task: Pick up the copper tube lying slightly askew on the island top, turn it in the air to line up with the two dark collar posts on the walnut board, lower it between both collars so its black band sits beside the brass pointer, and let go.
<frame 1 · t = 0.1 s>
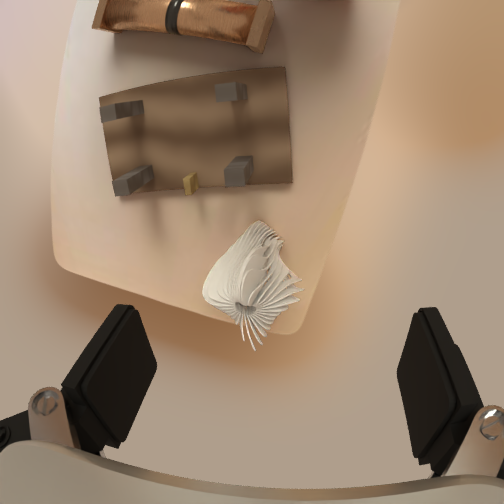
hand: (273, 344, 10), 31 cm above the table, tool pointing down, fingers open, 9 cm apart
collar board: (191, 132, 37), on the table
copper tube: (188, 19, 31), on the table
shell sculpture: (264, 238, 43), on the table
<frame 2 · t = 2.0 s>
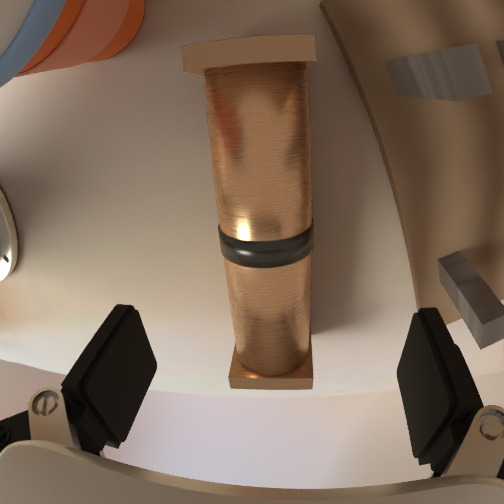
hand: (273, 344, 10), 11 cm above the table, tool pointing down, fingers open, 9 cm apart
collar board: (479, 157, 17), on the table
copper tube: (268, 215, 20), on the table
cup with straw: (105, 19, 15), on the table
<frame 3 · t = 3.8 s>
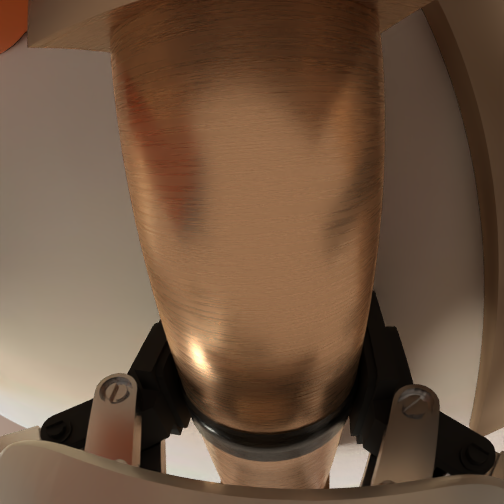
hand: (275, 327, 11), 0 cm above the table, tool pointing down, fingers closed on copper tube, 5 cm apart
copper tube: (276, 318, 11), on the table, touching gripper
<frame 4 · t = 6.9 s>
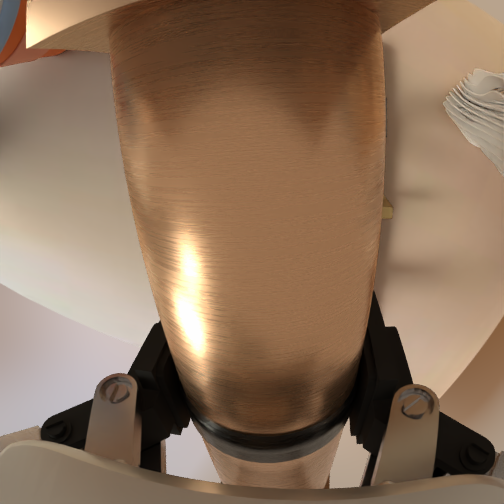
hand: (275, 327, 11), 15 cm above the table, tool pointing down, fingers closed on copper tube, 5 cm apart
copper tube: (276, 319, 11), point 15 cm above the table, touching gripper
shell sculpture: (469, 102, 19), on the table
cup with straw: (60, 25, 19), on the table
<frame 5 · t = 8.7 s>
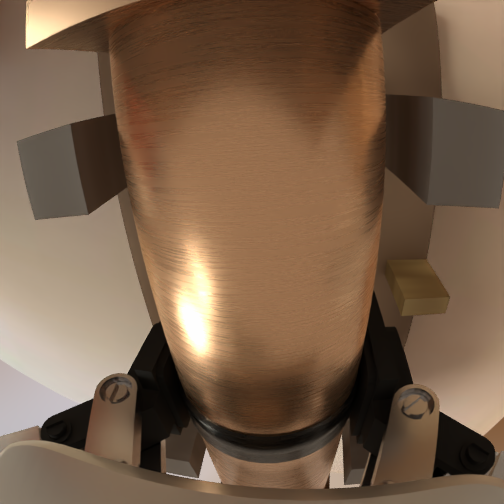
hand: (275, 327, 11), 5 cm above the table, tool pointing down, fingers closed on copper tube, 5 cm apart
collar board: (278, 256, 15), on the table
copper tube: (276, 319, 11), point 5 cm above the table, touching gripper
when the fingers open (2 cm above the table, at t = 10.1 s): copper tube stays where it is, resting on collar board.
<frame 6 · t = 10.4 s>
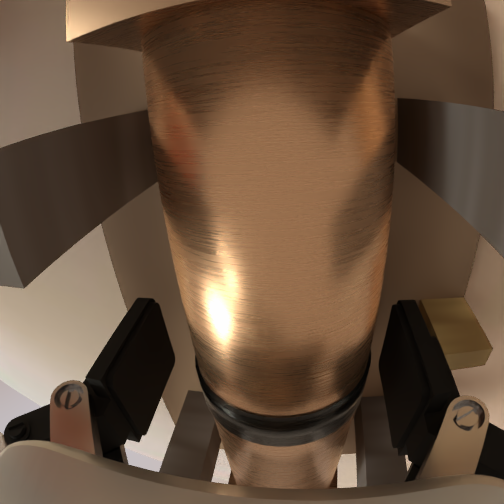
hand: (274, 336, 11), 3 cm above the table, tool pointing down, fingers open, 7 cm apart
collar board: (292, 291, 13), on the table
copper tube: (288, 309, 12), point 1 cm above the table, touching collar board
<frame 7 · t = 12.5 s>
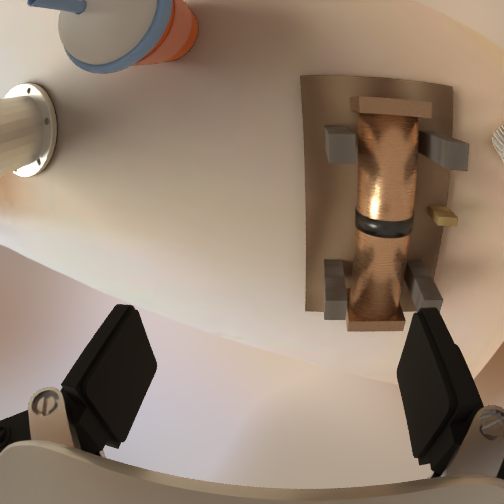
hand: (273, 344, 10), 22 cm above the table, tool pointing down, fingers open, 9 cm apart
collar board: (377, 203, 29), on the table
copper tube: (378, 207, 28), point 1 cm above the table, touching collar board
cup with straw: (169, 33, 25), on the table
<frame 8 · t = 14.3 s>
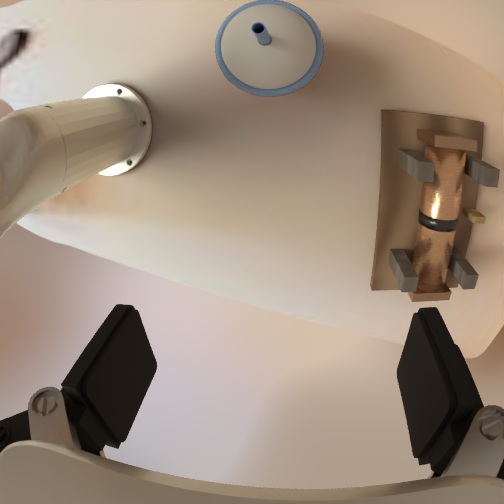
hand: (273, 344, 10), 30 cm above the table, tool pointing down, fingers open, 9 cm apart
collar board: (428, 206, 37), on the table
copper tube: (430, 209, 36), point 1 cm above the table, touching collar board
cup with straw: (275, 59, 32), on the table
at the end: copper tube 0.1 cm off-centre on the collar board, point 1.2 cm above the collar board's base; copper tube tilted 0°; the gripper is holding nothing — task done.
